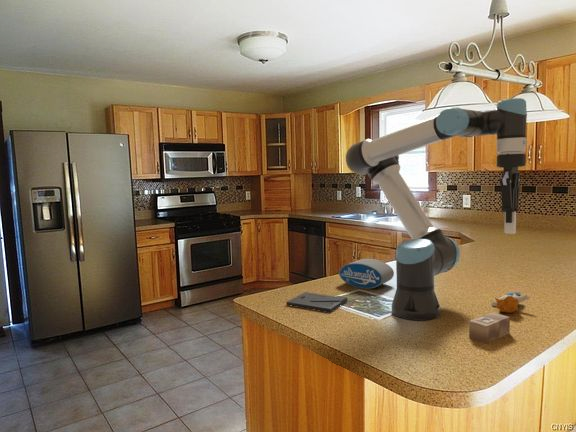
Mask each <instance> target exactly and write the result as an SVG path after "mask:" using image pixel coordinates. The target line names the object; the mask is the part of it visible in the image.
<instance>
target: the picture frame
mask: <svg viewBox="0 0 576 432" xmlns="http://www.w3.org/2000/svg"><path fill="white" fill-rule="evenodd" d="M345 302H346V303H347V302H348V297H347V296H341V295H335V296H334V295H328V294H321V293H314V292H308V291H307V292H302V293H300V294H299V295H297V296H295V297H293V298H291V299H289V300H288V301H286V306H287V305H292V306H291V307H293V306H298V307H297V308H299V307H303V308H302V309H305V308H309V309H308V310H311V309H315V310H314V311H317V310H320V311H319V312H323V311H326V312H325V313H329V312H331V313H333V312H334V311H336V310H337V309H339V308H340V307H341V306H340V305H342V304H343V305H344V304H346V303H345ZM343 305H342V306H343ZM339 306H340V307H339ZM338 307H339V308H338ZM336 308H337V309H336ZM335 309H336V310H335ZM333 310H334V311H333ZM332 311H333V312H332Z"/></svg>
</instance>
